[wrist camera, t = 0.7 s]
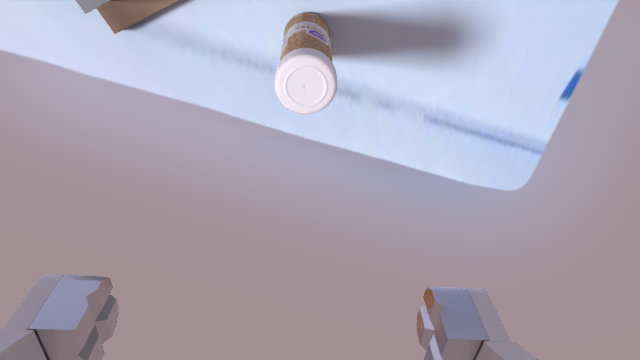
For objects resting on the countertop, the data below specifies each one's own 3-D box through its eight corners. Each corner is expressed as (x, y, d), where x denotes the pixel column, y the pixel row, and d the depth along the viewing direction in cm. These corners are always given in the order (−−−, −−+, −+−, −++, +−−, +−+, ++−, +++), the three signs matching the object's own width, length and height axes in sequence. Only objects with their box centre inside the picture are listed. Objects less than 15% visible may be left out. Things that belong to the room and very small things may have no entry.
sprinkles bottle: (335, 18, 40) (345, 64, 29) (323, 63, 43) (328, 121, 32) (288, 5, 40) (280, 48, 29) (278, 52, 42) (268, 108, 31)
